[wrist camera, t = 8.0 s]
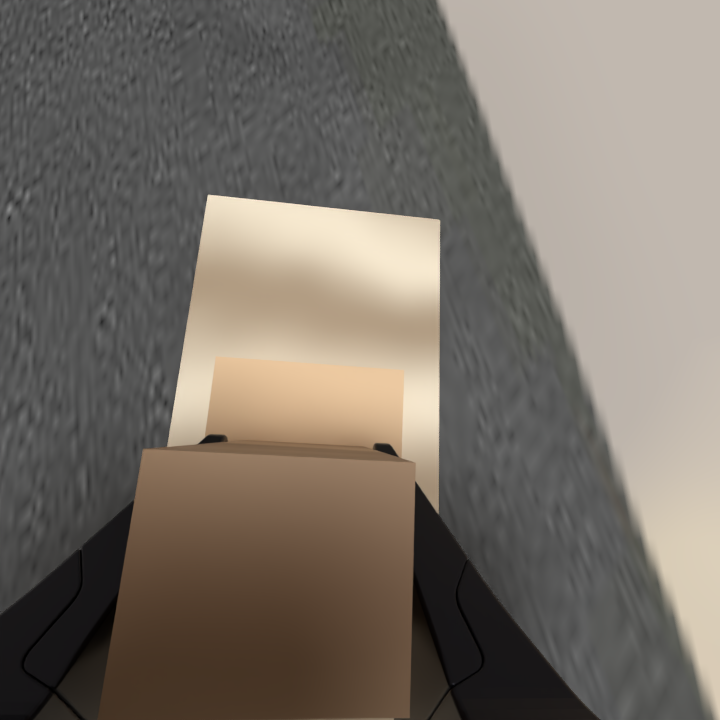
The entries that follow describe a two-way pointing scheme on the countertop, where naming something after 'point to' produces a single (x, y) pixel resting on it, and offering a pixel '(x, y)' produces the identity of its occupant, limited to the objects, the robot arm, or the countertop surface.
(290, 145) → the countertop surface
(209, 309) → the board
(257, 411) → the block
